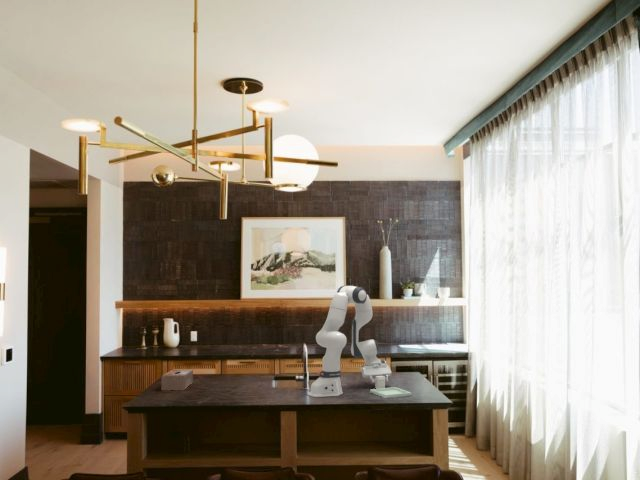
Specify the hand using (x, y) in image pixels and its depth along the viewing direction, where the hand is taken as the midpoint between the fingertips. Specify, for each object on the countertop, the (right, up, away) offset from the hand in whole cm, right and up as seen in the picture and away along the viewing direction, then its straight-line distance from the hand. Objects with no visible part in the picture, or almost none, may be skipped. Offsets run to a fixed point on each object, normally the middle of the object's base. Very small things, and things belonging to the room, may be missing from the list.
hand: (380, 381), depth 386 cm
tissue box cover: (-135, -7, +12) cm, 135 cm away
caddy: (0, -5, 0) cm, 5 cm away
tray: (+4, -3, -18) cm, 19 cm away
